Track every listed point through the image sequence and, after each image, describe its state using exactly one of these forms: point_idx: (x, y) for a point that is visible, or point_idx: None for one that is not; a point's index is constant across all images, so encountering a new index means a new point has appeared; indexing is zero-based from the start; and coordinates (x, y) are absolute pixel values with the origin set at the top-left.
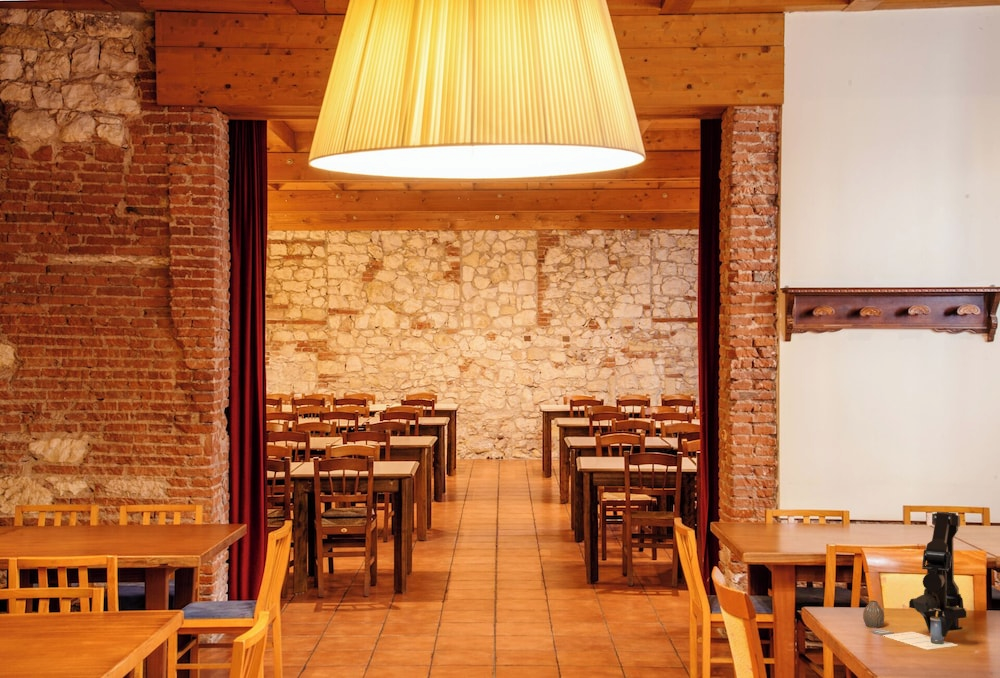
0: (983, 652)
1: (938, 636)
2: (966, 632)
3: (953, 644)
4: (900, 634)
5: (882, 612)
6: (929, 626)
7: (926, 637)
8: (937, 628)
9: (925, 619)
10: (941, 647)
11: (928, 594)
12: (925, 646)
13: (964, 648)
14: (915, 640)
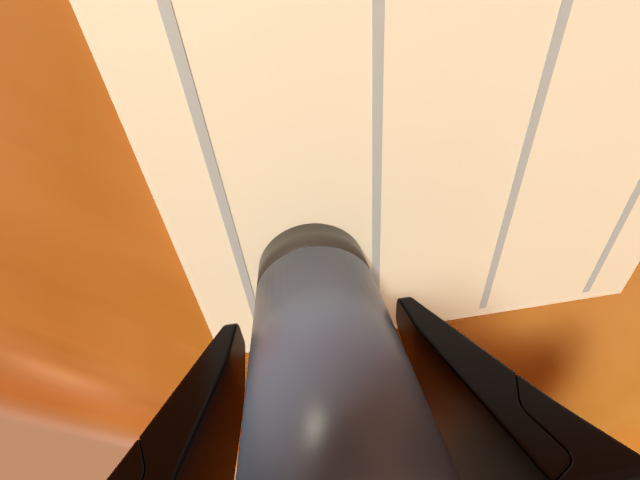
0: (29, 395)
1: (259, 297)
2: None
3: None
4: None
5: None
6: (432, 351)
7: (467, 287)
8: (259, 372)
9: (558, 424)
10: (162, 213)
11: None
12: (196, 46)
13: (146, 352)
14: (454, 136)
